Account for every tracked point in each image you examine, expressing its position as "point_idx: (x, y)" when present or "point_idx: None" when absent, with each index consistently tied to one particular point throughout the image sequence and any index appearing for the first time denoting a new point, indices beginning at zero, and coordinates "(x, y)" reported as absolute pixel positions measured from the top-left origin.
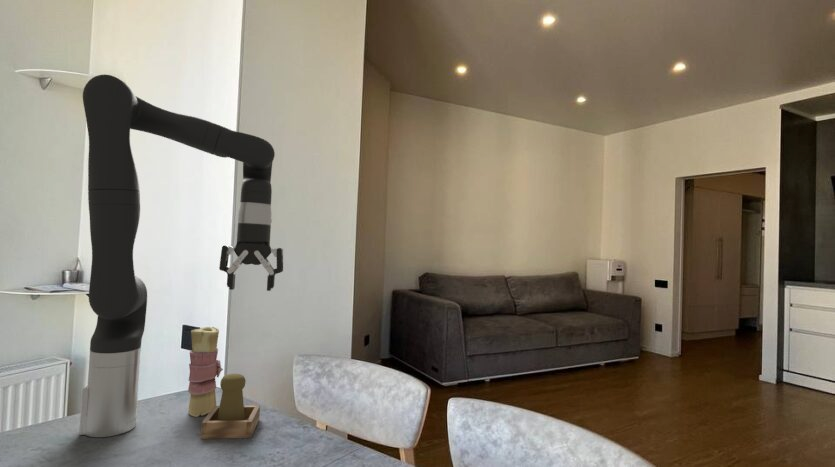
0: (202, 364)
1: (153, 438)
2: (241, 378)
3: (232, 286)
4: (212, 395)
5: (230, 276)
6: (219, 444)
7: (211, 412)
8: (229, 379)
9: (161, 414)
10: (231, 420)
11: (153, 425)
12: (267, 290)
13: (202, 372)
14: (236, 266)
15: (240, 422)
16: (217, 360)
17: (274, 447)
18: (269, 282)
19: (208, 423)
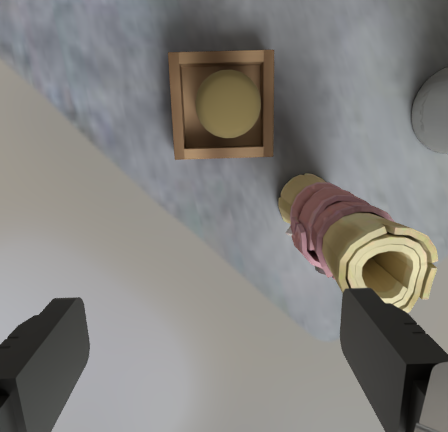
0: (340, 202)
1: (359, 61)
2: (202, 90)
3: (353, 294)
4: (291, 200)
5: (419, 345)
6: (225, 25)
7: (270, 114)
8: (232, 76)
9: (380, 188)
10: (214, 62)
11: (378, 129)
12: (77, 299)
13: (331, 192)
14: (426, 425)
15: (192, 52)
16: (311, 259)
17: (111, 5)
18: (30, 329)
19: (259, 50)
